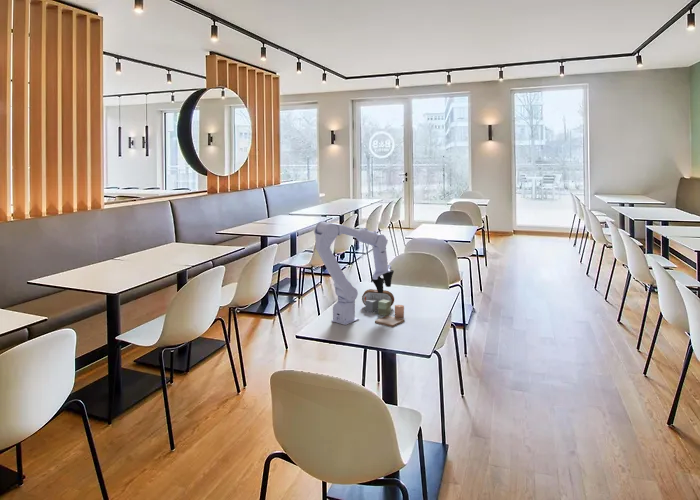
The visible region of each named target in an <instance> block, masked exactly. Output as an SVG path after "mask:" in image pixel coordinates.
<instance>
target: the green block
mask: <svg viewBox="0 0 700 500" xmlns="http://www.w3.org/2000/svg"><path fill="white" fill-rule="evenodd" d="M377 312H378V313H377V314H378V315H379V316H383V317H385V316H390V315H391V313H392V306H391V301H389V300H384V299H383V300H381V301H378V311H377Z"/></svg>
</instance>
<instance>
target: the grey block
mask: <svg viewBox="0 0 700 500" xmlns="http://www.w3.org/2000/svg"><path fill="white" fill-rule="evenodd" d="M365 312H368V313H375V312H378V300H375V299H368V300H366V306H365Z"/></svg>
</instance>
